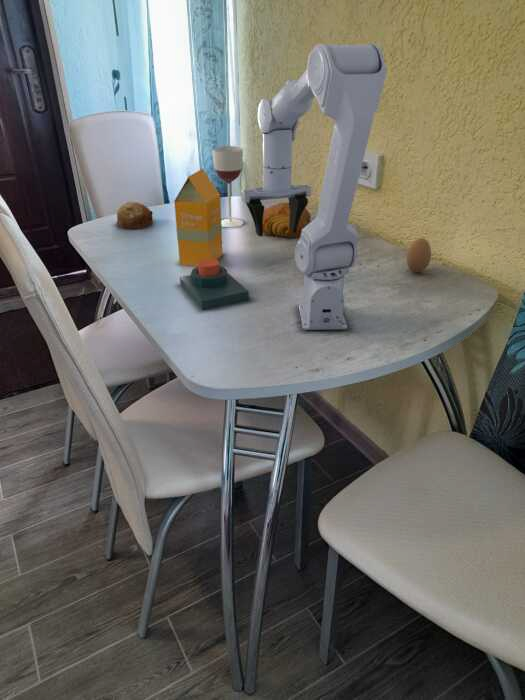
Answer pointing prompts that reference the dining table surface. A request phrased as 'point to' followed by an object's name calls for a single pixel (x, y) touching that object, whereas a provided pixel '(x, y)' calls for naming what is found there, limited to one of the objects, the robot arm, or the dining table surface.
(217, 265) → the push button
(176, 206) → the orange juice
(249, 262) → the dining table surface
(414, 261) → the egg
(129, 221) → the bread roll
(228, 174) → the wineglass
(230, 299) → the green button base
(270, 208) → the golden brown pastry bun
